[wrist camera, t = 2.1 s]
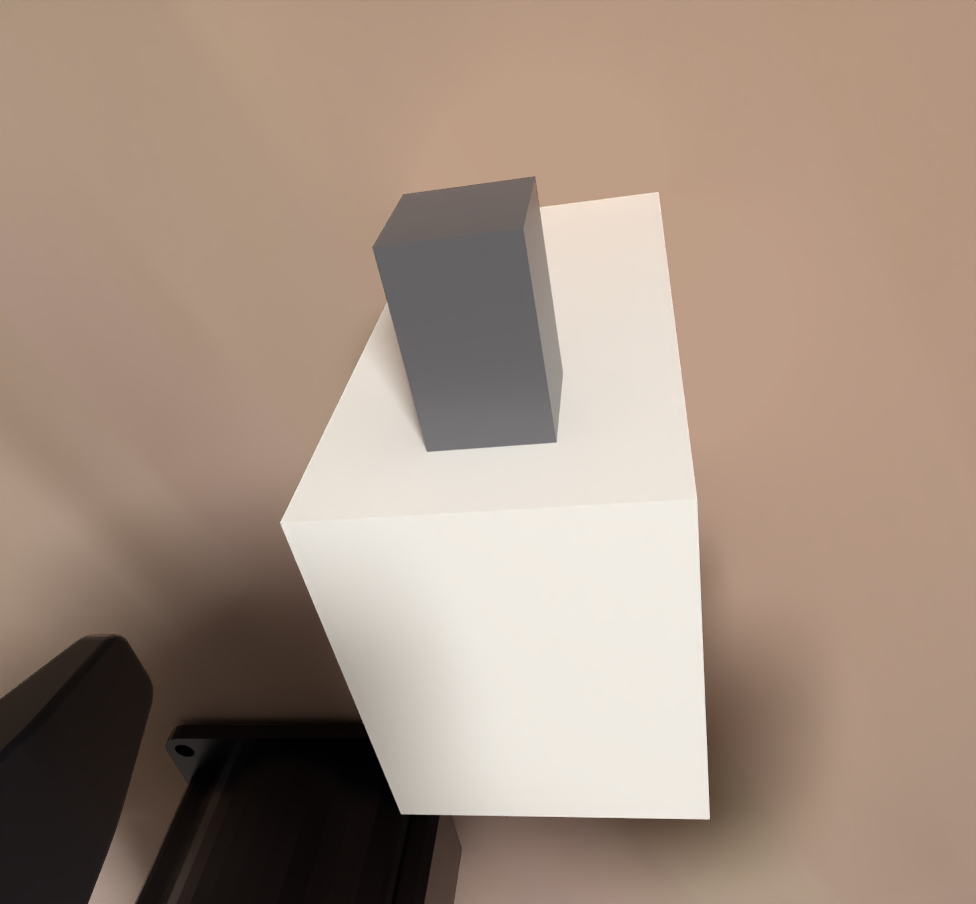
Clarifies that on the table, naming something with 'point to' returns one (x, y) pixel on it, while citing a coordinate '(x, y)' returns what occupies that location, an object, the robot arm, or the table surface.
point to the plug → (516, 515)
